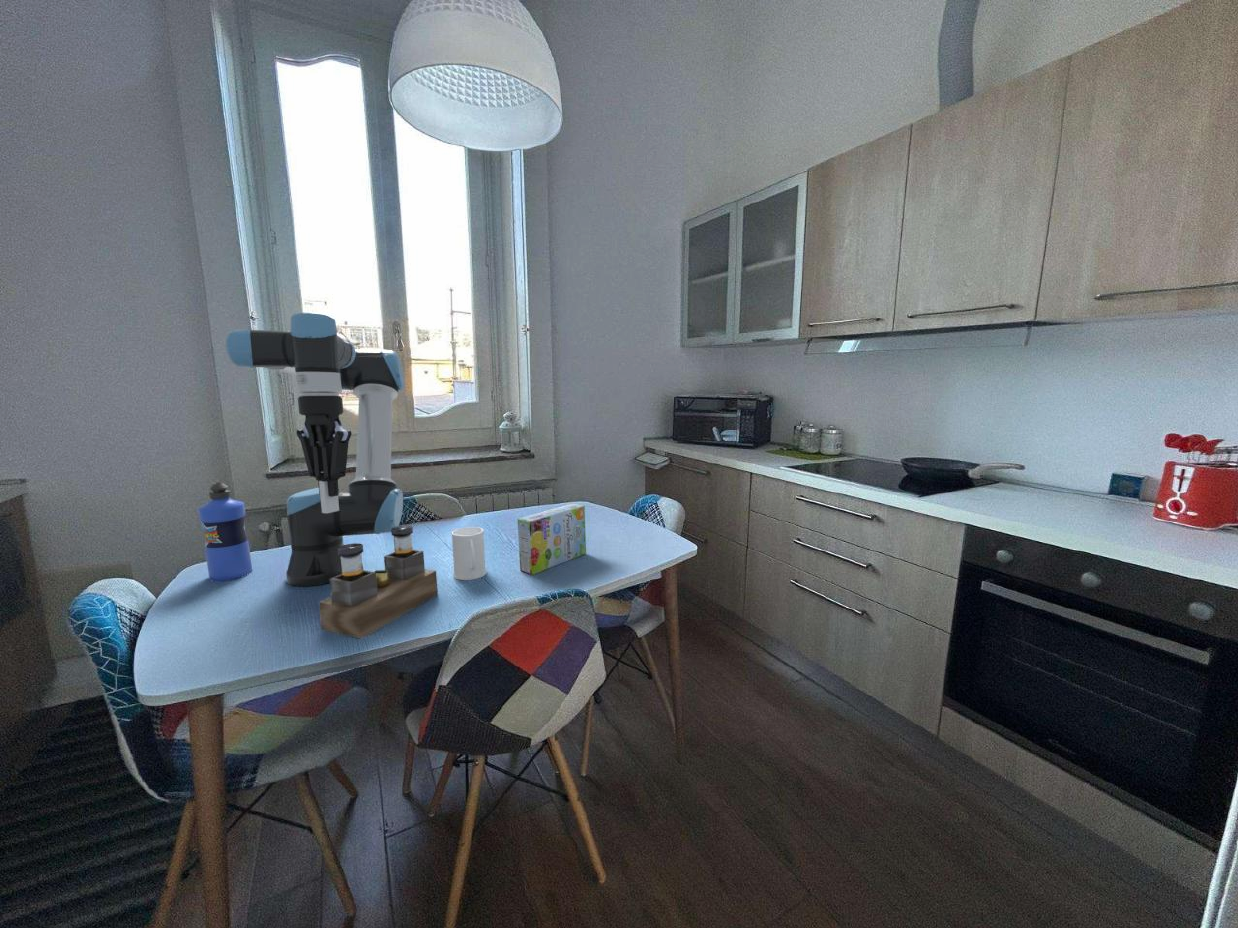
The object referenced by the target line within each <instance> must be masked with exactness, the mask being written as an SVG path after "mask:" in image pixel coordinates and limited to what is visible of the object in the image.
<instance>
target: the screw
mask: <svg viewBox="0 0 1238 928" xmlns="http://www.w3.org/2000/svg"><path fill="white" fill-rule="evenodd" d="M374 572H376V580H377V588H383V587H387V586H388V585H389V574H388V571H387V570H385V569H379V570H378V569H377V570H375V571H374Z"/></svg>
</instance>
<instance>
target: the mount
mask: <svg viewBox="0 0 1238 928" xmlns="http://www.w3.org/2000/svg"><path fill="white" fill-rule="evenodd" d="M424 554H425V553H424V551H423V550H418V549H413V555H411V556H408V557H406V558H399V557H395V551H394V552H391V553H389V554H386V555H383V560H384V562H383V564H384V570H387V571H388V574H389V585H388V586H387V587H383V588H377V580H376V572H375V571H371V570H370V571H369V570H365V569H363V577H361V578H359V579H357V580H354V581H352V582H351V581H346V580H343V577H342V574H340V575H338V576H336V577H333V578H331V579H330V582H329V587H330V596H328V597H326V598H325V599H322V600H320V601H318V609H319V619H320V627H321V630H324V631H327V632H331V633H336V634H341V635H344V636H347V637H348V636H349V637H353V638H357V639H361V640H362V639H364V638H365V637H367V636H369V635H371V634H372V633H374V632H376V631H377V630H379V629H381V628H382V627H384V626H386V625H387V624H389V623H391V622H392V621H395V620H396V619H398V618H400V617H401V616H403V615H405V614H406V613H408V612H410V611H411V610H414V609H415V608H416V607H418V606H420V605H422V604H424V603H426V602H427V601H429V600H430V599H432V598H434V597H436V596H437V595H438V593H439V592H438V579H437V570H433V569H427V568H425V555H424Z"/></svg>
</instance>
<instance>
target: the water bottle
mask: <svg viewBox="0 0 1238 928" xmlns="http://www.w3.org/2000/svg"><path fill="white" fill-rule="evenodd" d="M209 490H210V492H208V495H209V499H210V501H209V502H207V503H205V504H204V505H201V506H199V507H198V517H199V522H200V523H201V525H202V530H203V532H204V535H205V537H204V539H205V540H204V550H205V558H206V565H207V573H208V579H209V581H211V580H212V581H211V582H218V581H219V582H227V581H226V580H228V581H232V579H234V580H237V579H236V578H238V579H240V578H239V577H241V578H243V577H242V576H244V577H246V576H248V575H250V574H251V573H252V572H253V566H252V559H251V558H252V557H251V551H250V550H251V548H250V543H249V538H248V535H247V531H246V529H245V528H246V507H245V502H243V501H239V500H235V499H233V498H231V490H229V486H228V485H227V484H225V483H224V482H215V483H213V484H212V485H211V486H210V488H209ZM251 571H252V572H251ZM249 573H250V574H249ZM247 574H248V575H247ZM245 575H246V576H245Z"/></svg>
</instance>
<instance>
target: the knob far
mask: <svg viewBox="0 0 1238 928" xmlns="http://www.w3.org/2000/svg"><path fill="white" fill-rule="evenodd" d="M390 533H391V536H393V544H394V552H395V557H399V558H406V557H408V556H411V555H413V550H414V548H413V539H412V534H413V533H414V528H413V526H412V525H398V526H397V527H394V528H392V529H391V532H390Z"/></svg>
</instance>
